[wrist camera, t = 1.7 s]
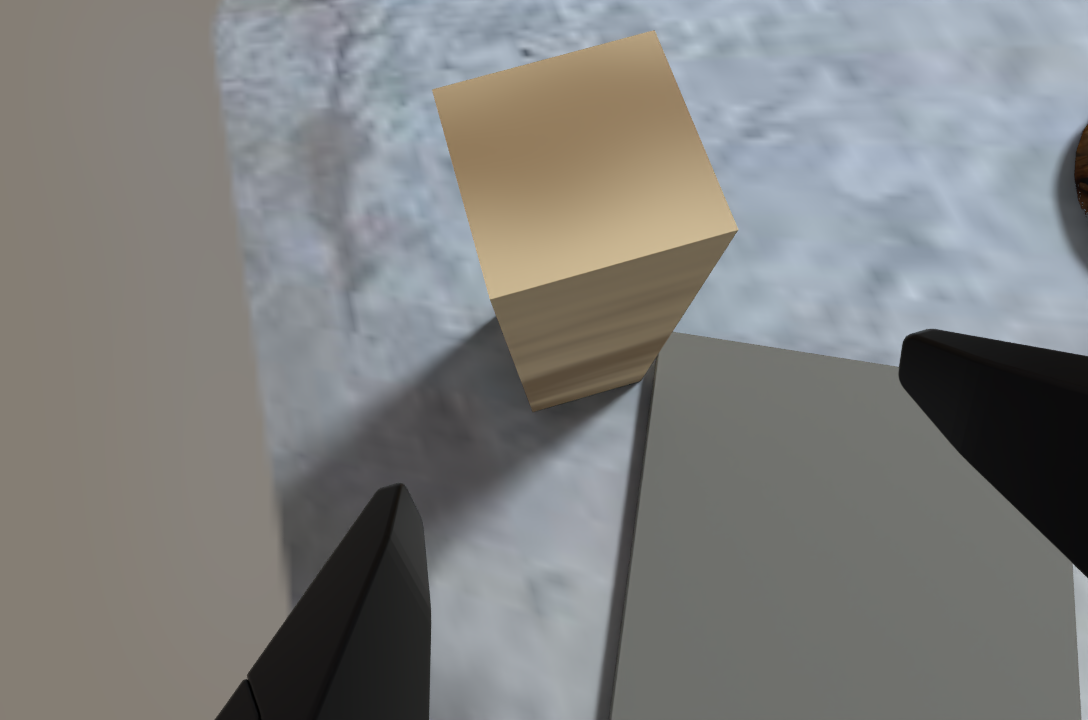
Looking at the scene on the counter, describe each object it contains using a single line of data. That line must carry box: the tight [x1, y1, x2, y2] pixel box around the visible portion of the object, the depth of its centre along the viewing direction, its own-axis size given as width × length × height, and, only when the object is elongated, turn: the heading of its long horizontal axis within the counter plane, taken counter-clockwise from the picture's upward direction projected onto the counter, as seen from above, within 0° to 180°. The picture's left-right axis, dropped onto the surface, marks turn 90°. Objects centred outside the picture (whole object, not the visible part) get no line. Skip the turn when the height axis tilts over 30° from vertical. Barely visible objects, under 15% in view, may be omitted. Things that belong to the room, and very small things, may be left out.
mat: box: [609, 332, 1081, 720], centre depth 19 cm, size 18×15×1 cm
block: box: [432, 30, 738, 412], centre depth 16 cm, size 4×4×12 cm
